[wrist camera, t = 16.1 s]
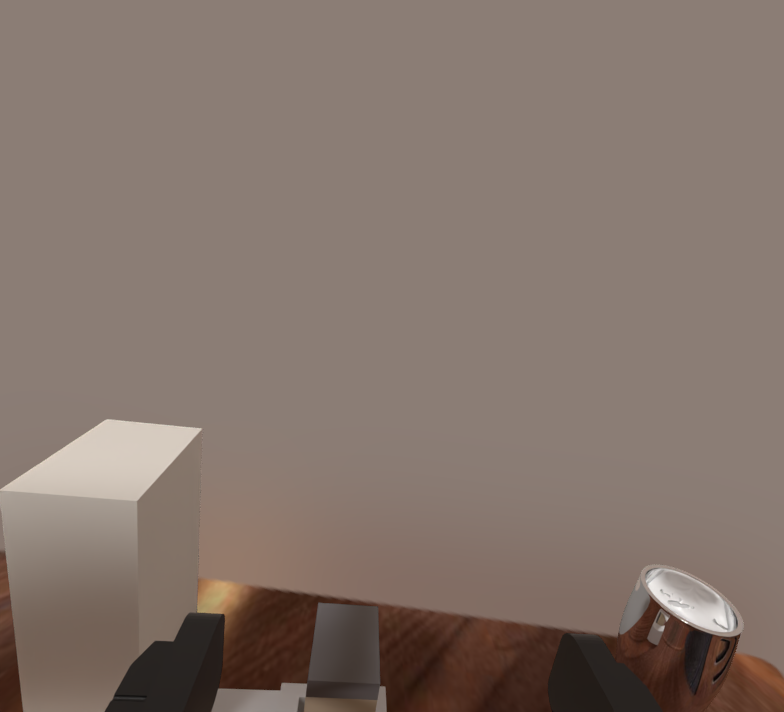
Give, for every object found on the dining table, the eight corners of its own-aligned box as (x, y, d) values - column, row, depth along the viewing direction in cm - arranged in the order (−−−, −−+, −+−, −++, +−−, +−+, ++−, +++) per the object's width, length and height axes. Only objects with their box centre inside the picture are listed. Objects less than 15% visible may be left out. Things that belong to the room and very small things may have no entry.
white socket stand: (8, 891, 22) (-44, 518, 16) (116, 697, 32) (106, 419, 26) (385, 885, 24) (456, 553, 19) (379, 705, 34) (424, 450, 28)
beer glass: (582, 684, 38) (626, 552, 35) (661, 711, 37) (717, 577, 33) (599, 770, 32) (656, 618, 28) (697, 807, 30) (771, 653, 27)
